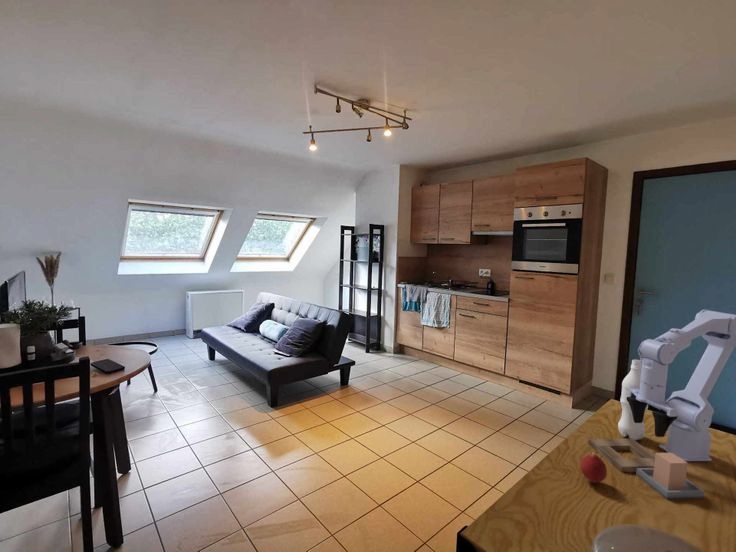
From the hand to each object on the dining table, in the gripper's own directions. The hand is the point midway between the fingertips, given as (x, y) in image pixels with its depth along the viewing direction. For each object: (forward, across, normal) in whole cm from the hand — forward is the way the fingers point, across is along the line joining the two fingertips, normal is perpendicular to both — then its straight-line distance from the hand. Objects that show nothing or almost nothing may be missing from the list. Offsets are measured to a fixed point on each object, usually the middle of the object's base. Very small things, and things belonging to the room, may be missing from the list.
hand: (648, 429), depth 106 cm
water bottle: (+10, -13, +6) cm, 17 cm away
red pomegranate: (+10, +9, -22) cm, 26 cm away
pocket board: (+9, -2, -4) cm, 10 cm away
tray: (+9, +11, -3) cm, 15 cm away
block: (+9, +11, -3) cm, 14 cm away
